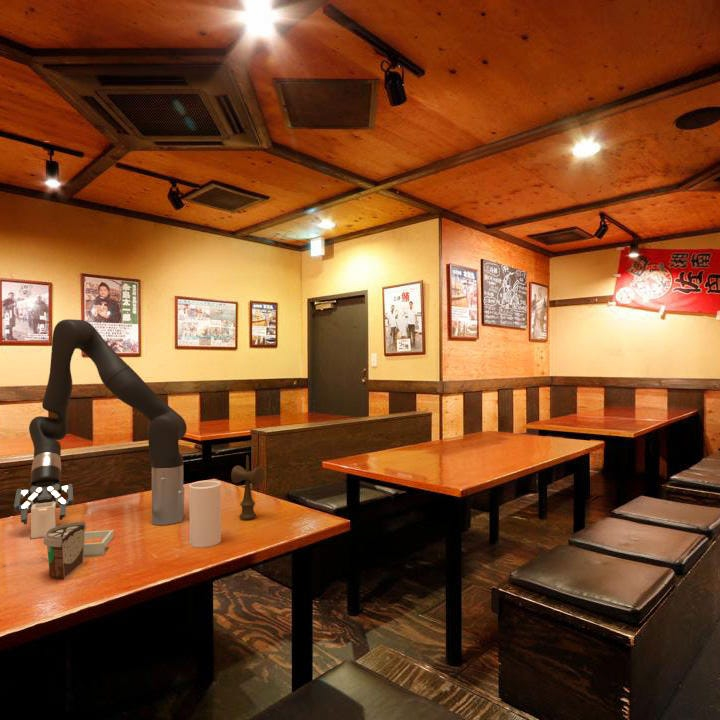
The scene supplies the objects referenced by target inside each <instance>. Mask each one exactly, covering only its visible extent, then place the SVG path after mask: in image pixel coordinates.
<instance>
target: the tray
mask: <svg viewBox="0 0 720 720" xmlns="http://www.w3.org/2000/svg"><path fill="white" fill-rule="evenodd" d="M113 537H115V531H114V529H112V530H111V529H107V530H96V531H95V530H94V531H85V533H84V540H93V539H102V540H101V542H87V543H84V556H83V558H89V557H101V556H104V555H105V554H106V552H107V551H108V550H109V549H110V546H107V545H108V544H109V543H110V542H111V540H112V539H113Z"/></svg>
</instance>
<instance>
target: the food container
mask: <svg viewBox="0 0 720 720" xmlns="http://www.w3.org/2000/svg"><path fill="white" fill-rule="evenodd" d="M85 530H87V525H86V521H73V522H69V523H64V524H60V525H56V527H54V528H51V529H50V530H48V531H47V533H46V535H45V538H43V544H44V546H46V549H47V559H48V569H49V570H48V571H49V577H50V578H52V579H53V580H66V578H68V577H69V576H70V575H72V573H74V572H75V571H76V570H77V569H78V568H79V567H81V566H82V565H83V564H84V557H83V556H84V544H85V539H84V533H85V532H86V531H85Z"/></svg>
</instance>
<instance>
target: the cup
mask: <svg viewBox="0 0 720 720" xmlns="http://www.w3.org/2000/svg"><path fill="white" fill-rule="evenodd" d="M221 487H222V485H221V481H218V480H199V481H195V482H192V483H189V546H191V547H193V548H194V547H195V548H209V547H214V546H216V545H218V544H220V543H221V540H222V523H221V521H222V519H221V518H222V514H221V513H222V511H221V510H222V506H221V505H222V502H221V501H222V497H221V496H222V493H221V491H222V490H221Z"/></svg>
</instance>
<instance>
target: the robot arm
mask: <svg viewBox="0 0 720 720" xmlns="http://www.w3.org/2000/svg"><path fill="white" fill-rule="evenodd" d="M52 332H53V333H52V338H51V339H52V342H51V353H50V365H49V366H50V367H49V375H48V379H47V385H46V389H45V392H44V396H43V399H42V404H41V405H42V409H43V410H45V411H47V412H50V413H53V414H55V415H57V417H52V416H51V417H50V416H42V415H41V416H39V415H38V416H36V417H34V418H33V419H32V420H31V421H30V423H29V426H28V430H29V431H28V433H29V436H30V439H31V441H32V444H33V459H32V464H31V473H30V474H31V475H30V486H29V488H28V489H23V490H22V488H17V489H16V493H15V498H14V504H13V509H14V512H15V513H19V512H20V522H21V523H23V525H27V524H28V515H29V510H31V508H32V505H33V504H39V503H48V502H56V505H57V506H59V521H61V520H64V519H63V518H65V517H66V512H67V510H66V509H67V507H68V506H73V505H74V493H73V492H74V490H73V484H72V483H68V484H67V485H63V486H62V484H61V477H62V462H61V461H62V459H61V458H62V456H61V455H62V453H61V451H62V447H61V446H62V445H61V443H60V442H59V441H60V440H62V439H65V437H66V436H67V434H68V432H69V424H68V407H69V403H70V399H71V395H72V391H73V378H72V373H71V372H72V371H71V362H72V361H71V360H72V358H73V356H74V353H75V351H76V350H79V351H81V352H82V353H84V354H85V355H86V356H87V357H88V358H89V359H91V360H90V361H92V362H93V363H94V366H95V367H96V369H97V372H98V375H99V378H100V380H101V382H102V384H104V386H105V387H106V389H107V390H108V391H109V392H111V393H112V394H113V395H114V396H115V397H116V398H117V399H118V400H119V401H121V402H123V403H124V404H126V405H128V406H129V407H131V408H132V409H135V410H136V411H138V412H139V413H141V414H142V415H143V416H145V417H146V419H147V420H149V422H150V423H149V425H148V431H147V432H148V433H147V434H148V436H147V437H148V440H147V443H148V455H149V459H150V461H151V523H152V524H153V525H157V526H166V525H167V526H168V525H172V524H177V523H182V522H183V521H184V518H185V487H184V456H183V455H182V454H181V453H180V449H179V447H180V446H179V441H180V440H182V439H183V438H184V437H185V435H186V433H187V431H188V428H187V423H186V421H185V419H184V417H182V416H181V415H180V414H179V413H178V412H177V411H175V410H174V409H173V408H172V407H171V406H169V405H168V404H167V403H166V402H165V401H163V400H162V399H161V397H159V396H158V395H157V394H156V393H155V392H154V390H153V389H152V388H151V387H150V386H149V385H148V384H147V382H145V381H144V380H143V379H142V378H141V376H140V375H139V374H138V373H137V372H136V371H134V369H133V368H132V367H131V366H130V365H129V364H127V363H126V362H125V361H124V360H123V358H122V357H120V355H118V354H117V352H116V351H114V350H113V348H112V347H111V346H109V344H108V342H106V340H105V339H104V338H103V337H102V335H101V334H100V333H99V330H97V329H96V328H95V327H94V325H93V324H91V323H90V322H89V321H86V320H83V319H62V320H60V321H58V322H57V324H55V326H54V328H53V331H52ZM62 492H64V494H66V495H67V496H68V497H67V499H64V497H62V495H61V494H62ZM26 496H28V498H27V500H26V501H25V502H24V503H23V504H22V500H23V499H24V498H25V497H26Z"/></svg>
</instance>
